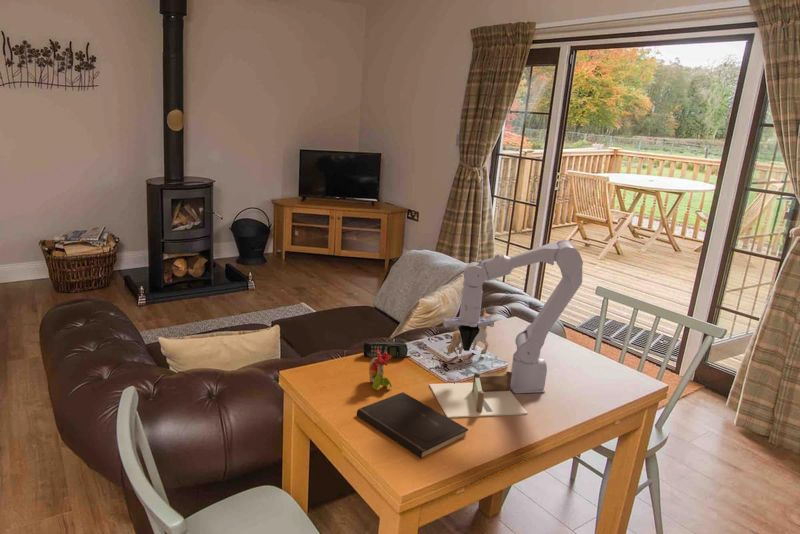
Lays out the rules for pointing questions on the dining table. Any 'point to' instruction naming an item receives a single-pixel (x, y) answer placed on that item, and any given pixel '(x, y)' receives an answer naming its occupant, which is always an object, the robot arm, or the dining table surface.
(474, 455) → the dining table surface
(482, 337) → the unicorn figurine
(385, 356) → the bird rattle
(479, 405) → the fence panel
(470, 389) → the card
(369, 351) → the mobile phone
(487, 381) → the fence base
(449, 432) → the hardcover book
